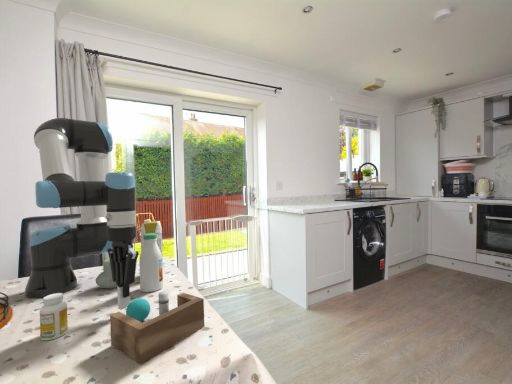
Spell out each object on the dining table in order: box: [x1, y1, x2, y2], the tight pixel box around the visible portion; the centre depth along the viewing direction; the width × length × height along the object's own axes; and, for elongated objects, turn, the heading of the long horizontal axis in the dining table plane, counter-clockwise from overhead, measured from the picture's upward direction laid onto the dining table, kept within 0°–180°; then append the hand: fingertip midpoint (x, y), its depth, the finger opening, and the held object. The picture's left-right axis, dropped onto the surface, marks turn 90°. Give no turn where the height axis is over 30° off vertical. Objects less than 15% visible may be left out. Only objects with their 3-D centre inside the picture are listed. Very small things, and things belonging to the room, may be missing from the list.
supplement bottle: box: [39, 292, 69, 341], centre depth 64 cm, size 5×5×10 cm
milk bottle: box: [139, 233, 164, 293], centre depth 94 cm, size 8×8×20 cm
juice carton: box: [140, 218, 164, 268], centre depth 108 cm, size 9×8×24 cm
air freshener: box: [95, 258, 118, 289], centre depth 98 cm, size 11×8×10 cm
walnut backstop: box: [109, 292, 205, 365], centre depth 62 cm, size 12×18×7 cm
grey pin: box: [158, 290, 170, 316], centre depth 67 cm, size 2×2×8 cm
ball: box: [125, 297, 151, 322], centre depth 70 cm, size 6×6×6 cm
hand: (124, 307), depth 74 cm, fingers closed
